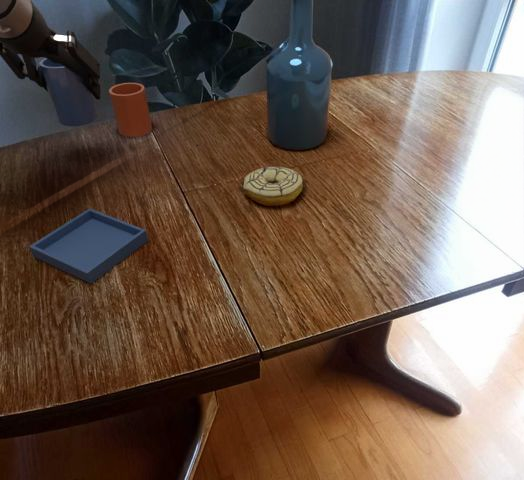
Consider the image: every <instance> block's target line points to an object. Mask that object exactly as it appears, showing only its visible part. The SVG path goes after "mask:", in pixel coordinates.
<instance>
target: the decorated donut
mask: <svg viewBox="0 0 524 480" xmlns="http://www.w3.org/2000/svg"><path fill="white" fill-rule="evenodd" d="M242 187H243V190H245V194H246V196H247V197H248V198H250V199H251V200H252V201H254V202H256V203H257V204H261V205H262V206H267V207H275V206H276V207H279V206H284V205H289V204H290V203H291V202H294V201H295V200H296V199H297V197H298V196H299V195H300V194H301V192H302V191H303V177H302V175H301V174H300V173H299V172H297V171H295V169H292V168H289V167H283V166H265V167H261V168H259V169H258V168H257V169H256V170H254V171H251V172H249V173H248V174H247V175H246V176H245V177H244V179H243V186H242Z"/></svg>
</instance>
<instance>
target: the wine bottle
mask: <svg viewBox="0 0 524 480" xmlns="http://www.w3.org/2000/svg"><path fill="white" fill-rule="evenodd" d="M313 15H314V0H290V18H289V19H290V20H289V22H290V23H289V36H288V38H287V39H285V40H284V41H283V42H282V43H281V44H280V45H279V46H278V48H276V49H275V50H274V51H272V52H271V53H270V54H269V55H268V57H267V58H266V60H265V63H266V64H267V65H266V129H267V130H266V131H267V132H266V133H267V134H266V135H267V136H268V139H269V140H270V141H271V143H272V144H273V145H274V146H277V147H279V148H281V149H284V150H293V151H294V150H295V151H303V150H308V149H314V148H316V147H318V146H320V145H322V144H323V143H324V142H325V140H326V138H327V134H328V127H329V116H330V105H331V104H330V103H331V94H332V93H331V92H332V91H331V90H332V79H333V69H334V68H333V65H334V64H333V60H332V58H331V56H330V54H329V53H328V52H327V51H326V50H325V49H323V48H322V47H321V46H319V45H318V44H316V43H315V42H314V39H313V23H314V22H313V21H314V20H313V17H314V16H313Z"/></svg>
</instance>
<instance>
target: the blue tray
mask: <svg viewBox="0 0 524 480" xmlns="http://www.w3.org/2000/svg"><path fill="white" fill-rule="evenodd" d="M148 241H149V236H148V232H147V230H146V229H144V228H142V227H139V226H138V225H137V226H136V225H134V224H133V223H132V224H131V223H129V222H126V221H124V220H122V219H118V218H116V217H113V216H111V215H108V214H106V213H103V212H100V211H98V210H95V209H93V208H91V207H89V208H88V209H87V210H84V211H83V212H81V213H80V214H78V215H77V216H75V217H73V218H72V219H70V220H69V221H67V222H66V223H64V224H62V225H61V226H59V227H57V228H56V229H55V230H53V231H51V232H50V233H48V234H46V235H45V236H43V237H42V238H40V239H39V240H37V241H35V242H34V243H32V244H30V245H29V246H28V248H29V250H30V252H31V254H32V256H33V258H35V259H36V260H40V261H42V262H43V263H46V264H48V265H50V266H52V267H54V268H56V269H58V270H60V271H63V272H64V273H66V274H69V275H71V276H73V277H75V278H77V279H80V280H82V281H84V282H86V283H88V284H90V285H92V284H93V283H94V282H95V281H97V280H98V279H99V278H101V277H103V276H104V275H105V274H106V273H108V272H109V271H110V270H112V269H113V268H114V267H116V266H117V265H119V264H120V263H121V262H123V260H125V259H126V258H127V257H130V255H132V254H133V253H134V252H135V251H137V250H139V248H141V247H142V246H144V245H145V244H146V243H148Z"/></svg>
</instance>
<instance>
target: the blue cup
mask: <svg viewBox="0 0 524 480" xmlns="http://www.w3.org/2000/svg"><path fill="white" fill-rule="evenodd" d="M38 65H39V66H38V67H40V69H41V72H42V75H43V78H44V81H45V84H46V87H47V90H48V92H47V93H48V95H49V98H50V101H51V104H52V107H53V110H54V114H55V117H56V119H57V121H58V123H59V124H60V125H61V126H64V127H80V126H85V125H88V124H91V123H93V122H95V121H96V120H97V119H98V114H97V109H96V105H95V101H94V96H93V94H92V93H91V92H90V91H89V90H88V88H87V87H86V86H85V85H84V83H83V82H82V77H80V76H78V75H77V74H75V73H74V72H72V71H71V70H69V69H67V68H66V67H64V66H63V65H61V64H60V63H57V64H55V63H53V62H52V61H50V60H48V59H47V58H43V59H41V60H40V61H39V64H38Z"/></svg>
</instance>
